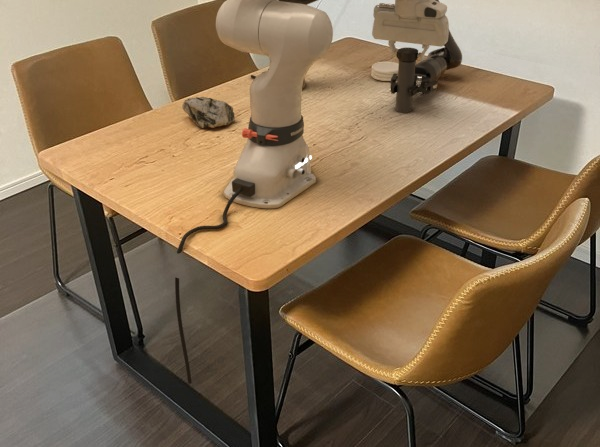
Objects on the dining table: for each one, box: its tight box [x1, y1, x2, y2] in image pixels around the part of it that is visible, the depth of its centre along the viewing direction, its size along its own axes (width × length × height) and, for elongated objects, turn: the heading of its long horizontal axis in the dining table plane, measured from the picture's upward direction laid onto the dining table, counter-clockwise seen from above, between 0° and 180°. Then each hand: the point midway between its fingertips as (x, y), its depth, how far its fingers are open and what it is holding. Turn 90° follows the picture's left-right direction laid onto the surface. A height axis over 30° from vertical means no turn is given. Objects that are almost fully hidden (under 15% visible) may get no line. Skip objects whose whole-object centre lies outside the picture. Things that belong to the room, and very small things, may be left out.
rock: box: [181, 96, 236, 129], centre depth 170 cm, size 15×10×7 cm
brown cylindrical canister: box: [395, 59, 417, 114], centre depth 172 cm, size 4×4×16 cm
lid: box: [396, 47, 419, 62], centre depth 168 cm, size 6×6×2 cm
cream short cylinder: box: [370, 61, 399, 82], centre depth 199 cm, size 10×10×4 cm
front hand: (407, 58), depth 168 cm, fingers open, 6 cm apart
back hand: (401, 92), depth 171 cm, fingers closed on brown cylindrical canister, 4 cm apart
